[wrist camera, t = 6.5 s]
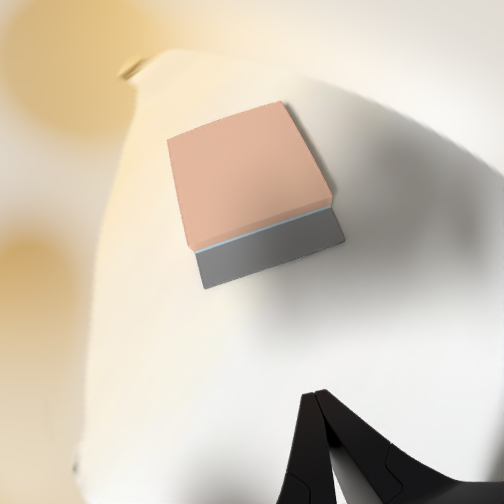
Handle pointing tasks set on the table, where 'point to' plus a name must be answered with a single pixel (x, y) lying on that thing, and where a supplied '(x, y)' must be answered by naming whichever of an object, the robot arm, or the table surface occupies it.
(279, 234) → the mat
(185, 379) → the table surface
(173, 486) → the table surface
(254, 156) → the tile
